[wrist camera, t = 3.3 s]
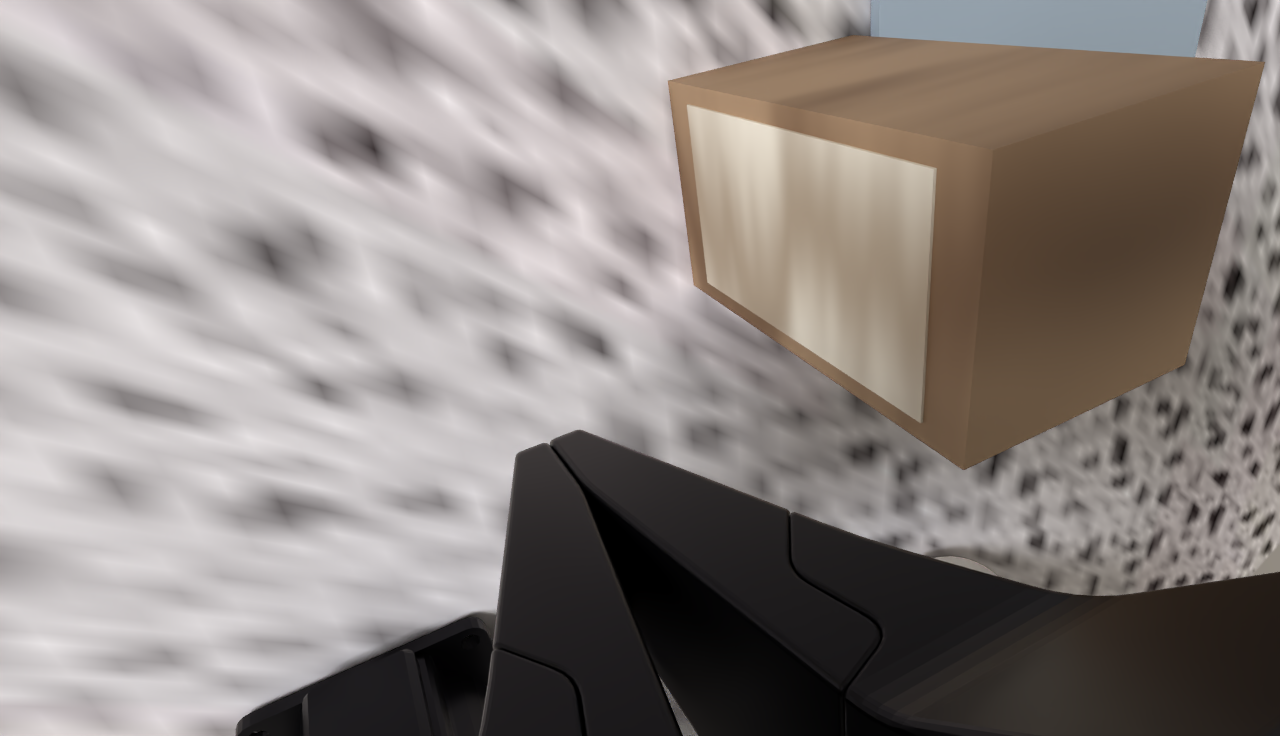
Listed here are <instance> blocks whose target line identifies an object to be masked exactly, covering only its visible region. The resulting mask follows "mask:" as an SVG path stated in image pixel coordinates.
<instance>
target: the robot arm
mask: <svg viewBox="0 0 1280 736" xmlns="http://www.w3.org/2000/svg"><path fill="white" fill-rule="evenodd" d="M469 635H473V636H472V637H470V638H467V639H464V638H465V637H467V636H469ZM658 674H659V675H658ZM659 676H660V677H661V679H662V681H663V682H664V684H665V685H666V687H667V688H668V690H669V691H670V693H671V694H672V696H673V697H674V699H675V700H676V702H677V703H678V705H679V707H680V708H681V710H682V711H683V713H684V714H685V716H686V717H687V719H688V720H689V722H690V723H691V725H692V726H693V728H694V730H695V731H696V733H697V734H698V736H1280V572H1275V573H1269V574H1262V575H1255V576H1248V577H1242V578H1235V579H1228V580H1222V581H1215V582H1208V583H1201V584H1195V585H1188V586H1181V587H1175V588H1168V589H1161V590H1154V591H1148V592H1141V593H1134V594H1126V595H1117V596H1087V595H1074V594H1068V593H1062V592H1055V591H1051V590H1046V589H1042V588H1038V587H1034V586H1030V585H1026V584H1023V583H1019V582H1016V581H1012V580H1009V579H1005V578H1002V577H998V576H995V575H991V574H987V573H984V572H980V571H977V570H973V569H970V568H966V567H963V566H959V565H956V564H952V563H948V562H945V561H941V560H938V559H934V558H931V557H927V556H924V555H920V554H917V553H913V552H910V551H906V550H903V549H900V548H897V547H893V546H890V545H887V544H884V543H880V542H877V541H874V540H870V539H867V538H864V537H861V536H858V535H855V534H853V533H850V532H847V531H844V530H841V529H839V528H836V527H833V526H830V525H827V524H825V523H822V522H819V521H817V520H814V519H811V518H809V517H806V516H804V515H801V514H798V513H796V512H793V513H791V514H790V512H789V510H787V509H785V508H782V507H780V506H777V505H774V504H772V503H769V502H767V501H764V500H762V499H759V498H756V497H754V496H751V495H749V494H746V493H743V492H741V491H738V490H736V489H733V488H730V487H728V486H725V485H723V484H720V483H718V482H715V481H712V480H710V479H707V478H705V477H702V476H699V475H697V474H694V473H692V472H689V471H686V470H684V469H681V468H679V467H676V466H674V465H671V464H668V463H666V462H663V461H661V460H658V459H655V458H653V457H650V456H648V455H645V454H642V453H640V452H637V451H635V450H632V449H630V448H627V447H624V446H622V445H619V444H617V443H614V442H611V441H609V440H606V439H604V438H601V437H598V436H596V435H593V434H591V433H588V432H586V431H583V430H575V431H573V432H570V433H568V434H565V435H562V436H560V437H557V438H555V439H553V440H552V441H551V442H550V445H549V444H547V443H542V444H539V445H537V446H534V447H531V448H529V449H526V450H524V451H521V452H519V453H518V454H517V455H516V458H515V465H514V473H513V482H512V490H511V498H510V507H509V515H508V523H507V531H506V540H505V548H504V556H503V565H502V573H501V581H500V590H499V598H498V606H497V615H496V623H495V631H494V640H493V644H492V641H491V639H490V636H489V634H488V631H487V628H486V626H485V624H484V622H483V621H482V620H481V619H479V618H475V617H469V618H466V619H462V620H460V621H458V622H455V623H453V624H451V625H449V626H446V627H444V628H442V629H440V630H437V631H435V632H433V633H430V634H428V635H426V636H424V637H421V638H419V639H417V640H415V641H412V642H410V643H408V644H406V645H403V646H401V647H399V648H397V649H394V650H392V651H390V652H387V653H385V654H383V655H381V656H378V657H376V658H374V659H372V660H369V661H367V662H365V663H363V664H360V665H358V666H356V667H353V668H351V669H349V670H347V671H344V672H342V673H340V674H338V675H335V676H333V677H331V678H329V679H326V680H324V681H322V682H320V683H317V684H315V685H313V686H310V687H308V688H306V689H304V690H301V691H299V692H297V693H295V694H292V695H290V696H288V697H286V698H283V699H281V700H279V701H276V702H274V703H272V704H270V705H267V706H265V707H263V708H261V709H258V710H256V711H254V712H252V713H250V714H248V715H246V716H245V717H243V718H242V719H241V720H240V721H239V722H238V724H237V727H236V736H683V735H682V733H681V730H680V728H679V725H678V723H677V720H676V718H675V715H674V713H673V710H672V708H671V705H670V703H669V700H668V698H667V695H666V693H665V690H664V688H663V685H662V683H661V680H660V678H659ZM259 730H262V731H261V732H258V733H254V732H255V731H259Z"/></svg>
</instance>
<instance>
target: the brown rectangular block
mask: <svg viewBox="0 0 1280 736" xmlns="http://www.w3.org/2000/svg"><path fill="white" fill-rule="evenodd" d="M1264 64H1265V62H1257V61H1242V60H1227V59H1211V58H1196V57H1180V56H1165V55H1150V54H1134V53H1119V52H1103V51H1088V50H1073V49H1057V48H1042V47H1026V46H1011V45H996V44H980V43H965V42H949V41H934V40H919V39H903V38H888V37H872V36H857V35H851V36H847V37H843V38H839V39H835V40H831V41H827V42H823V43H819V44H815V45H811V46H807V47H803V48H799V49H795V50H791V51H787V52H783V53H779V54H775V55H770V56H766V57H762V58H758V59H754V60H750V61H746V62H742V63H738V64H734V65H730V66H726V67H722V68H718V69H714V70H710V71H706V72H702V73H698V74H694V75H690V76H686V77H682V78H677V79H673V80H669V81H668V85H669V93H670V101H671V109H672V117H673V125H674V132H675V140H676V148H677V156H678V164H679V172H680V180H681V188H682V195H683V203H684V211H685V219H686V227H687V235H688V242H689V250H690V258H691V266H692V274H693V282H694V285H695V286H696V287H697V288H699V289H700V290H702V291H703V292H705V293H706V294H708V295H709V296H711V297H712V298H713V299H715V300H716V301H718V302H719V303H721V304H722V305H724V306H725V307H727V308H728V309H729V310H731V311H732V312H734V313H735V314H737V315H738V316H740V317H741V318H743V319H744V320H746V321H747V322H748V323H750V324H751V325H753V326H754V327H756V328H757V329H759V330H760V331H762V332H763V333H764V334H766V335H767V336H769V337H770V338H772V339H773V340H775V341H776V342H778V343H779V344H780V345H782V346H783V347H785V348H786V349H788V350H789V351H791V352H792V353H794V354H795V355H796V356H798V357H799V358H801V359H802V360H804V361H805V362H807V363H808V364H810V365H811V366H812V367H814V368H815V369H817V370H818V371H820V372H821V373H823V374H824V375H826V376H827V377H829V378H830V379H831V380H833V381H834V382H836V383H837V384H839V385H840V386H842V387H843V388H845V389H846V390H847V391H849V392H850V393H852V394H853V395H855V396H856V397H858V398H859V399H861V400H862V401H863V402H865V403H866V404H868V405H869V406H871V407H872V408H874V409H875V410H877V411H878V412H879V413H881V414H882V415H884V416H885V417H887V418H888V419H890V420H891V421H893V422H894V423H896V424H897V425H898V426H900V427H901V428H903V429H904V430H906V431H907V432H909V433H910V434H912V435H913V436H914V437H916V438H917V439H919V440H920V441H922V442H923V443H925V444H926V445H928V446H929V447H930V448H932V449H933V450H935V451H936V452H938V453H939V454H941V455H942V456H944V457H945V458H946V459H948V460H949V461H951V462H952V463H954V464H955V465H957V466H958V467H960V468H961V469H962V470H965V469H967V468H969V467H971V466H974V465H976V464H978V463H980V462H982V461H984V460H986V459H988V458H990V457H992V456H994V455H997V454H999V453H1001V452H1003V451H1005V450H1007V449H1009V448H1011V447H1013V446H1015V445H1017V444H1020V443H1022V442H1024V441H1026V440H1028V439H1030V438H1032V437H1034V436H1036V435H1038V434H1040V433H1043V432H1045V431H1047V430H1049V429H1051V428H1053V427H1055V426H1057V425H1059V424H1061V423H1063V422H1066V421H1068V420H1070V419H1072V418H1074V417H1076V416H1078V415H1080V414H1082V413H1084V412H1086V411H1089V410H1091V409H1093V408H1095V407H1097V406H1099V405H1101V404H1103V403H1105V402H1107V401H1109V400H1112V399H1114V398H1116V397H1118V396H1120V395H1122V394H1124V393H1126V392H1128V391H1130V390H1132V389H1135V388H1137V387H1139V386H1141V385H1143V384H1145V383H1147V382H1149V381H1151V380H1153V379H1155V378H1158V377H1160V376H1162V375H1164V374H1166V373H1168V372H1170V371H1172V370H1174V369H1176V368H1178V367H1181V366H1183V365H1185V361H1186V358H1187V354H1188V350H1189V346H1190V343H1191V339H1192V335H1193V331H1194V327H1195V324H1196V320H1197V316H1198V312H1199V309H1200V305H1201V301H1202V297H1203V294H1204V290H1205V286H1206V282H1207V278H1208V275H1209V271H1210V267H1211V263H1212V260H1213V256H1214V252H1215V248H1216V245H1217V241H1218V237H1219V233H1220V230H1221V226H1222V222H1223V218H1224V214H1225V211H1226V207H1227V203H1228V199H1229V196H1230V192H1231V188H1232V184H1233V181H1234V177H1235V173H1236V169H1237V166H1238V162H1239V158H1240V154H1241V150H1242V147H1243V143H1244V139H1245V135H1246V132H1247V128H1248V124H1249V120H1250V117H1251V113H1252V109H1253V105H1254V101H1255V98H1256V94H1257V90H1258V86H1259V83H1260V79H1261V75H1262V71H1263V68H1264Z"/></svg>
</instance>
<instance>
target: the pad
mask: <svg viewBox="0 0 1280 736" xmlns="http://www.w3.org/2000/svg"><path fill="white" fill-rule="evenodd" d="M1206 4H1207V0H871V36H872V37H888V38H903V39H919V40H934V41H949V42H965V43H980V44H996V45H1011V46H1026V47H1042V48H1057V49H1073V50H1088V51H1103V52H1119V53H1134V54H1150V55H1165V56H1180V57H1195V54H1196V49H1197V45H1198V40H1199V36H1200V31H1201V27H1202V22H1203V17H1204V13H1205V8H1206Z"/></svg>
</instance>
